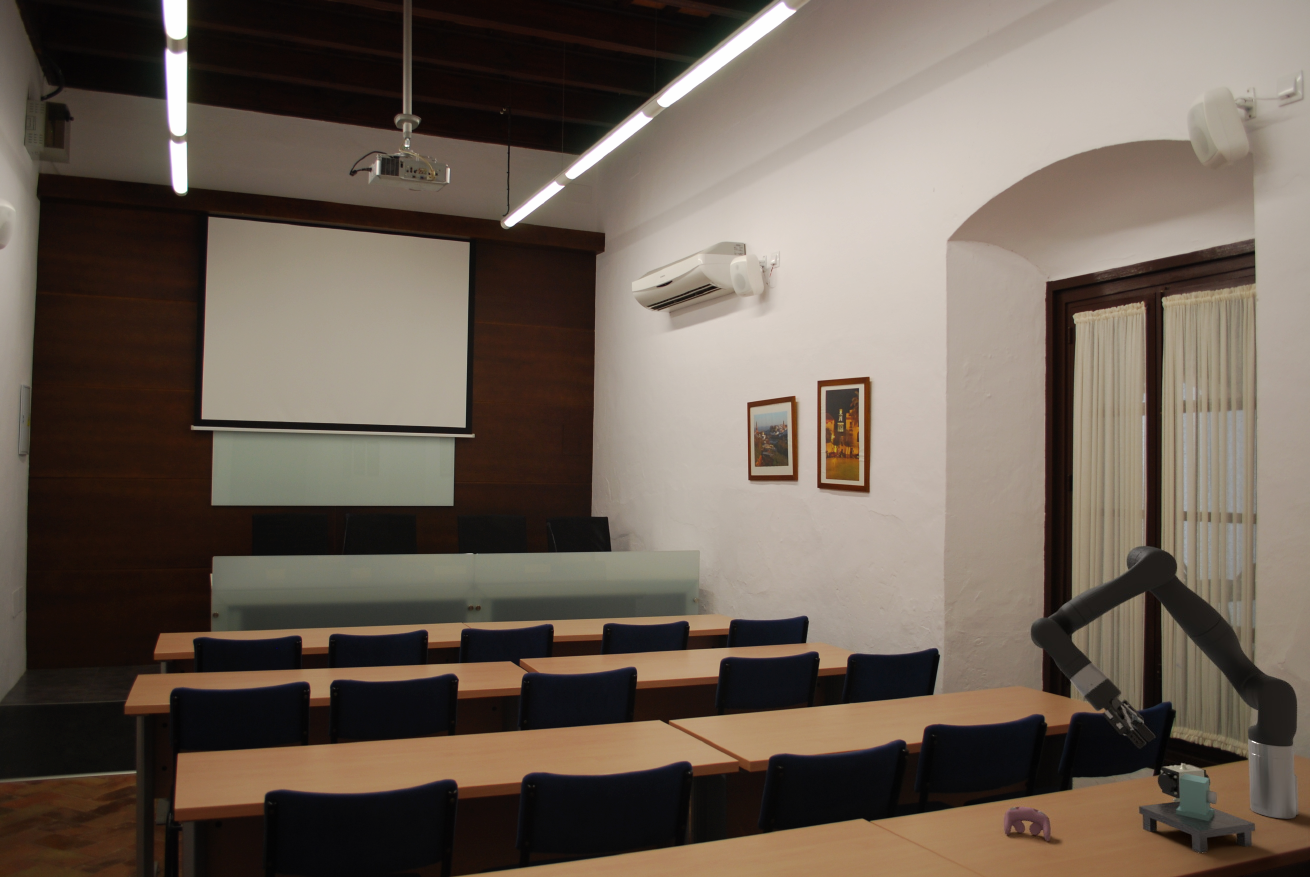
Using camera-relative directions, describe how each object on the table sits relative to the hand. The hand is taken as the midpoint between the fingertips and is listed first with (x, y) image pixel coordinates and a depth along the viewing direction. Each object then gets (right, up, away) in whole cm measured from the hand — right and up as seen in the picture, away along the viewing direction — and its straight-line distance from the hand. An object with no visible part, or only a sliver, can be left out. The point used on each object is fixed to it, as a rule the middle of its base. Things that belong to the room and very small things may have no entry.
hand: (1147, 743), depth 209 cm
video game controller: (-32, -19, -8) cm, 38 cm away
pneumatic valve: (+13, -20, +8) cm, 25 cm away
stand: (+7, -19, -8) cm, 21 cm away
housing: (+7, -14, -7) cm, 17 cm away
